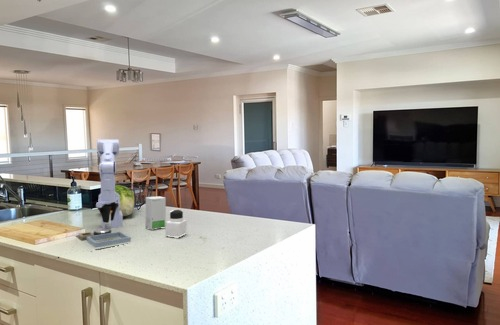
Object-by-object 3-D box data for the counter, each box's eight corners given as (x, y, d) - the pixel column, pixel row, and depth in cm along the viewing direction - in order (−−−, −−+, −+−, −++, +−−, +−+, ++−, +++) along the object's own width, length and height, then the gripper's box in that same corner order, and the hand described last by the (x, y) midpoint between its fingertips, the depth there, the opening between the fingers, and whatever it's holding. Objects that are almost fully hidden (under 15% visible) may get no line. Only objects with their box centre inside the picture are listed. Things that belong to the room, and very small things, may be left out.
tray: (120, 238, 174) (120, 231, 174) (130, 244, 165) (130, 237, 165) (86, 243, 165) (86, 236, 165) (95, 250, 156) (95, 243, 156)
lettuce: (111, 207, 201) (138, 185, 211) (87, 194, 214) (113, 174, 224) (125, 230, 212) (150, 208, 222) (102, 217, 225) (126, 196, 235)
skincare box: (150, 230, 188) (150, 199, 187) (144, 228, 193) (144, 197, 191) (166, 228, 193) (166, 197, 192) (159, 225, 198) (159, 195, 197)
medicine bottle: (186, 235, 181) (186, 209, 180) (179, 238, 175) (179, 212, 174) (173, 233, 184) (173, 208, 183) (165, 237, 177) (165, 211, 176)
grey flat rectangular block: (106, 233, 182) (106, 226, 181) (114, 238, 174) (114, 231, 174) (74, 238, 172) (74, 231, 172) (81, 243, 165) (81, 236, 165)
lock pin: (107, 227, 167) (107, 208, 166) (113, 228, 166) (114, 209, 165) (101, 228, 164) (102, 210, 163) (108, 230, 163) (108, 211, 162)
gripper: (108, 186, 171) (109, 217, 172) (89, 191, 157) (89, 224, 158) (123, 187, 170) (123, 217, 171) (105, 192, 156) (105, 225, 157)
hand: (108, 221), depth 164 cm, fingers closed on lock pin, 3 cm apart
